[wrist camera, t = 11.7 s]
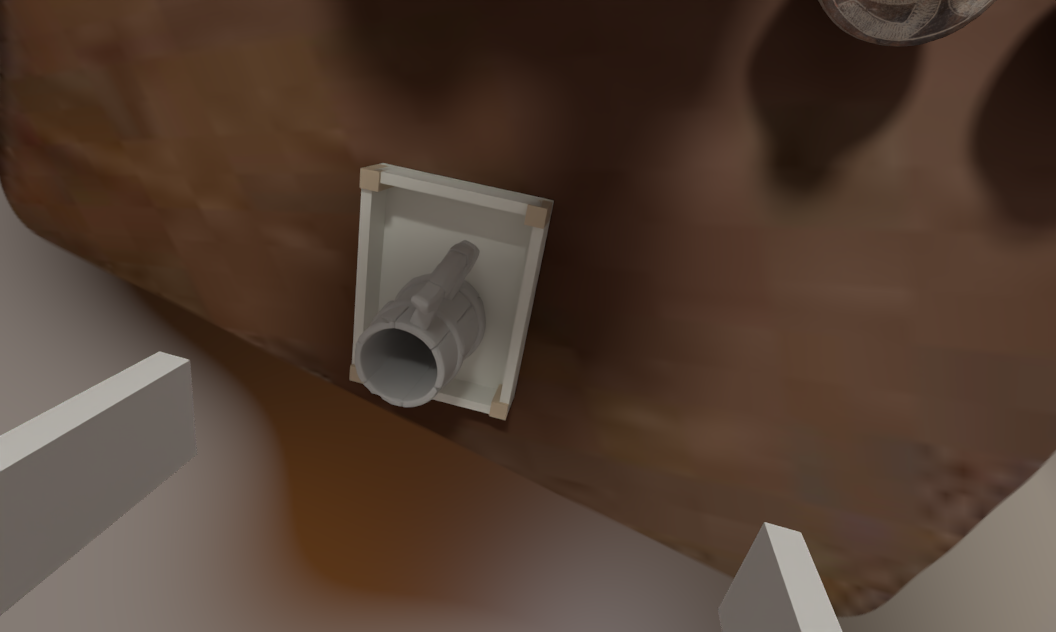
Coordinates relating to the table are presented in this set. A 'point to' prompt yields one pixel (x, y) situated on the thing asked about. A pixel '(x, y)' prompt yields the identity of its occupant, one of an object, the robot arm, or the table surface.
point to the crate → (422, 243)
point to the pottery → (902, 18)
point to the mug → (423, 333)
